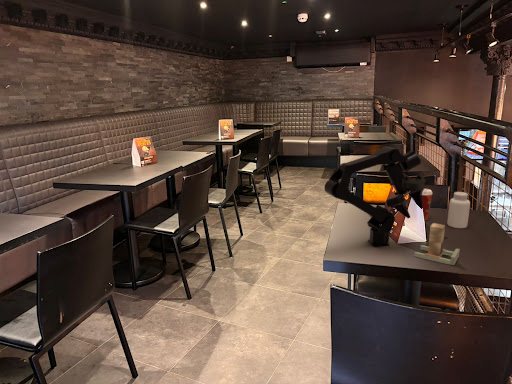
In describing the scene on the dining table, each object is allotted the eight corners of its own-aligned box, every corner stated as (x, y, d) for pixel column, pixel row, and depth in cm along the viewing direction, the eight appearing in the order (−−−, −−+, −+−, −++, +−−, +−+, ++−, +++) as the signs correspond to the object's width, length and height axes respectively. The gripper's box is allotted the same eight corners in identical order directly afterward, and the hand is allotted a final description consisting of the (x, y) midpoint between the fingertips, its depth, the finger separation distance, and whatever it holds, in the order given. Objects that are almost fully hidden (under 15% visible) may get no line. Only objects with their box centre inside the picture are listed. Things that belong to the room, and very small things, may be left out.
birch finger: (427, 256, 136) (430, 226, 133) (430, 253, 139) (433, 223, 136) (440, 259, 134) (443, 228, 130) (442, 255, 137) (445, 225, 133)
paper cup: (432, 221, 171) (434, 192, 167) (414, 221, 173) (416, 192, 169) (428, 216, 178) (430, 188, 175) (411, 215, 180) (413, 187, 176)
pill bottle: (466, 229, 160) (470, 196, 156) (446, 227, 164) (449, 194, 160) (467, 224, 166) (471, 192, 162) (448, 221, 170) (451, 190, 166)
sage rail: (414, 256, 137) (414, 249, 136) (421, 248, 143) (421, 241, 142) (453, 265, 129) (454, 257, 128) (458, 256, 135) (459, 249, 134)
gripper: (400, 180, 131) (420, 219, 131) (427, 162, 141) (446, 199, 141) (377, 188, 141) (395, 224, 140) (404, 171, 150) (421, 205, 150)
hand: (415, 213), depth 143 cm, fingers open, 9 cm apart
